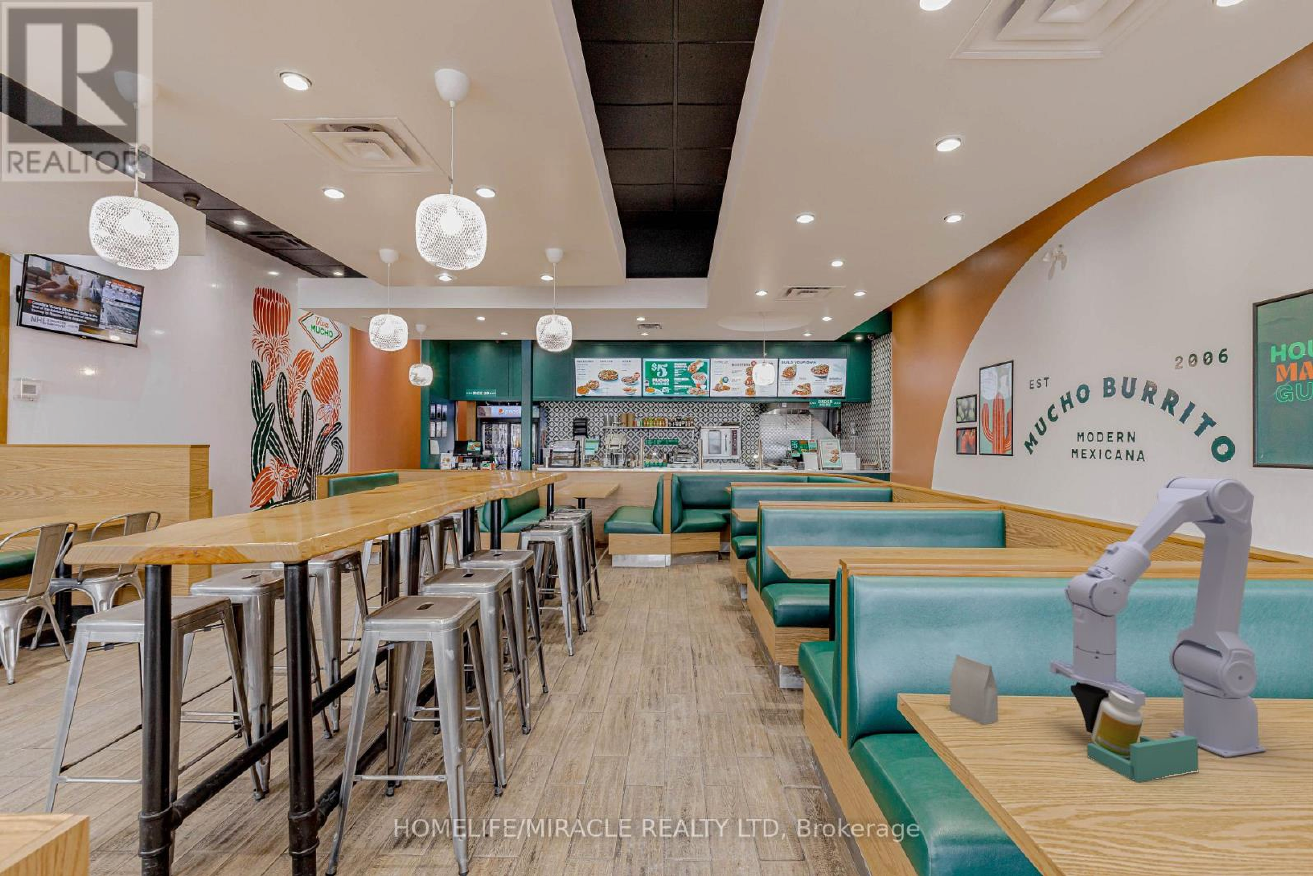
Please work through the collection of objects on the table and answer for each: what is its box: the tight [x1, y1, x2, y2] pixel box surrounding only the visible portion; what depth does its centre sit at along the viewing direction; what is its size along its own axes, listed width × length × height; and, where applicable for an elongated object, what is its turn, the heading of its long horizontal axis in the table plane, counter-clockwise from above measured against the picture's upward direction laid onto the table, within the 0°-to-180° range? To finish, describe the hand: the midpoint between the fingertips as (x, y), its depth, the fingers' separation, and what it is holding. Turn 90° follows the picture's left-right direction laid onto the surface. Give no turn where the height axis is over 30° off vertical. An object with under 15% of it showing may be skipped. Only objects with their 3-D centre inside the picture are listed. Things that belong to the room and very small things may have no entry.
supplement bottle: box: [1091, 690, 1144, 759], centre depth 91 cm, size 5×5×10 cm
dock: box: [1086, 735, 1199, 783], centre depth 89 cm, size 12×8×5 cm, turn 105°
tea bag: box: [949, 654, 999, 726], centre depth 105 cm, size 4×7×10 cm, turn 25°
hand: (1093, 732), depth 95 cm, fingers closed, pressing on supplement bottle
